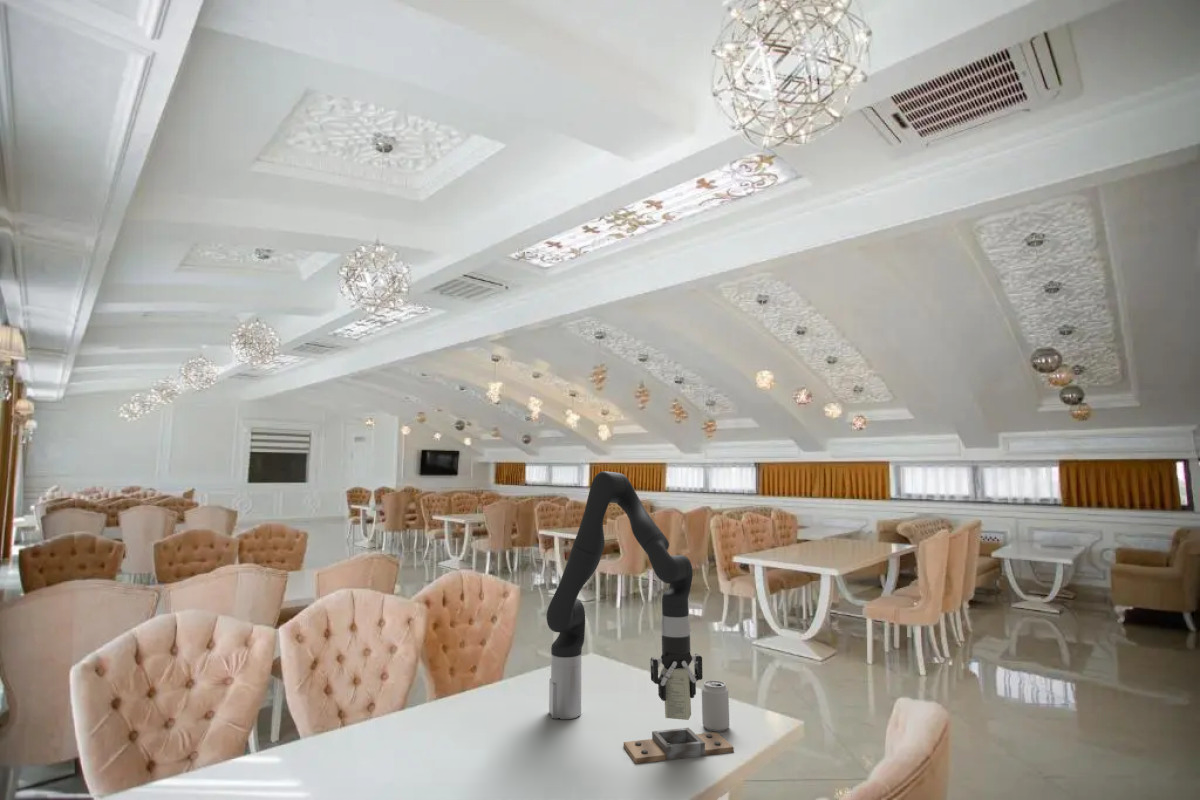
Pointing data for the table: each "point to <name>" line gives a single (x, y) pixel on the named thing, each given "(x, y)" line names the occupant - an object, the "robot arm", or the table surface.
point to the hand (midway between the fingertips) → (677, 698)
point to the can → (715, 705)
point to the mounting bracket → (676, 745)
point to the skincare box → (678, 695)
